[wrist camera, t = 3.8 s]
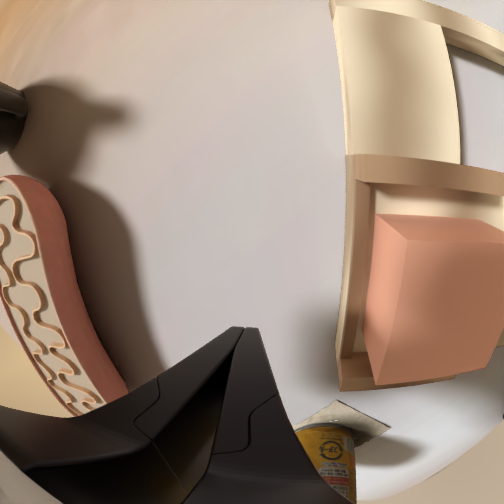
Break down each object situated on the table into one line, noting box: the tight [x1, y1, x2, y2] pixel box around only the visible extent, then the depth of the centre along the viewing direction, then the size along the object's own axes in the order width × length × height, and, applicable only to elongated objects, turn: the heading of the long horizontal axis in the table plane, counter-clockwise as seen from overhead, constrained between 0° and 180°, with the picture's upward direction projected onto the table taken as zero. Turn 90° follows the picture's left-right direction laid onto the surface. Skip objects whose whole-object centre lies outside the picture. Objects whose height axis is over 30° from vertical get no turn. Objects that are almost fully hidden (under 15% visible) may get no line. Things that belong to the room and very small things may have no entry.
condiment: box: [292, 400, 390, 504], centre depth 14 cm, size 7×8×12 cm
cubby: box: [337, 154, 504, 391], centre depth 11 cm, size 7×11×2 cm, turn 3°
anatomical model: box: [0, 175, 129, 417], centre depth 17 cm, size 23×10×5 cm, turn 7°
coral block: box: [362, 214, 504, 385], centre depth 10 cm, size 6×6×4 cm
